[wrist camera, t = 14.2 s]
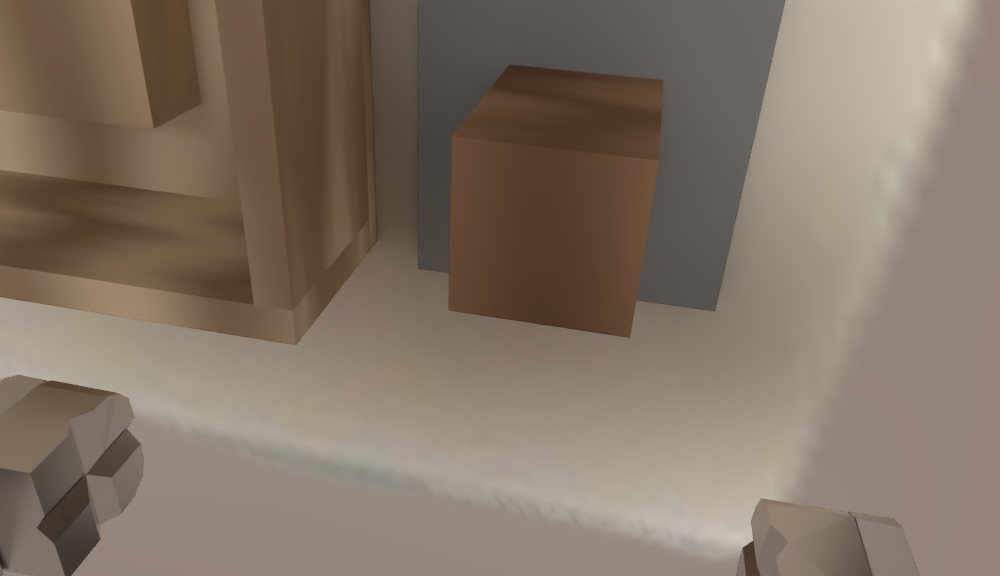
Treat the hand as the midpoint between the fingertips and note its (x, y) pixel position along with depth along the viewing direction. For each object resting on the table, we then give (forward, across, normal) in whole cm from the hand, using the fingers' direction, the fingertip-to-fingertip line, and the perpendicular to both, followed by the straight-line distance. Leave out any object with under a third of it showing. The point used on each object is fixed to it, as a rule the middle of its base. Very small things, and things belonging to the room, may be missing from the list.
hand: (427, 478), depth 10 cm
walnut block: (+13, -1, 0) cm, 13 cm away
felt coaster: (+14, -1, 0) cm, 14 cm away
